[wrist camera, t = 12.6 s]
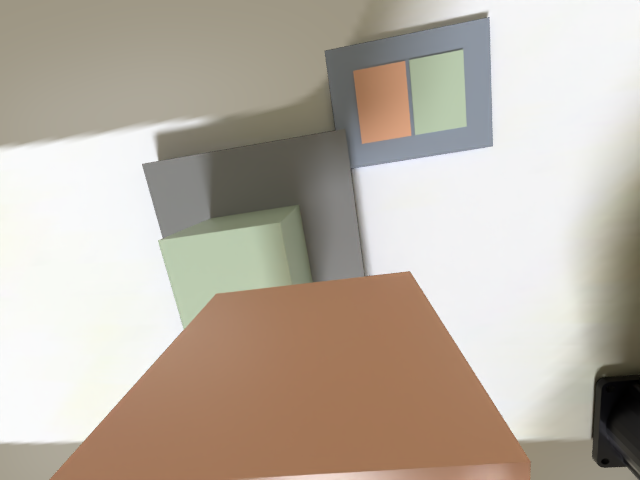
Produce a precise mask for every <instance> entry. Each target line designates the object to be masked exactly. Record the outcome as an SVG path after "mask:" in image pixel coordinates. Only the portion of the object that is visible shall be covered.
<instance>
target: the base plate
mask: <svg viewBox="0 0 640 480" xmlns="http://www.w3.org/2000/svg"><path fill="white" fill-rule="evenodd" d="M142 166H143V169H144V173H145V177H146V180H147V184H148V187H149V191H150V194H151V198H152V201H153V205H154V208H155V212H156V216H157V219H158V223H159V226H160V230H161V233H162V237H163V238H165V237H168V236H170V235H172V234H175V233H177V232H179V231H182V230H184V229H186V228H189V227H191V226H194V225H196V224H198V223H201V222H203V221H205V220H208V219H210V218H216V217H222V216H229V215H235V214H242V213H249V212H255V211H262V210H268V209H275V208H281V207H288V206H294V205H299V208H300V214H301V219H302V225H303V231H304V236H305V242H306V247H307V253H308V259H309V264H310V270H311V276H312V281H313V282H322V281H330V280H339V279H348V278H356V277H365V276H364V269H363V261H362V253H361V246H360V238H359V230H358V223H357V215H356V208H355V200H354V192H353V185H352V177H351V169H350V162H349V154H348V146H347V139H346V131H345V129H341V130H335V131H329V132H324V133H318V134H312V135H306V136H301V137H295V138H289V139H283V140H278V141H272V142H266V143H260V144H254V145H249V146H243V147H237V148H231V149H226V150H220V151H214V152H208V153H203V154H197V155H191V156H185V157H179V158H174V159H168V160H162V161H156V162H151V163H145V164H142Z"/></svg>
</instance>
